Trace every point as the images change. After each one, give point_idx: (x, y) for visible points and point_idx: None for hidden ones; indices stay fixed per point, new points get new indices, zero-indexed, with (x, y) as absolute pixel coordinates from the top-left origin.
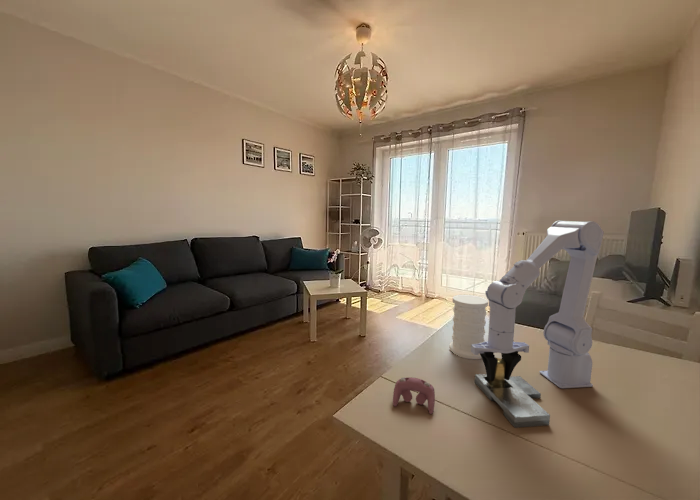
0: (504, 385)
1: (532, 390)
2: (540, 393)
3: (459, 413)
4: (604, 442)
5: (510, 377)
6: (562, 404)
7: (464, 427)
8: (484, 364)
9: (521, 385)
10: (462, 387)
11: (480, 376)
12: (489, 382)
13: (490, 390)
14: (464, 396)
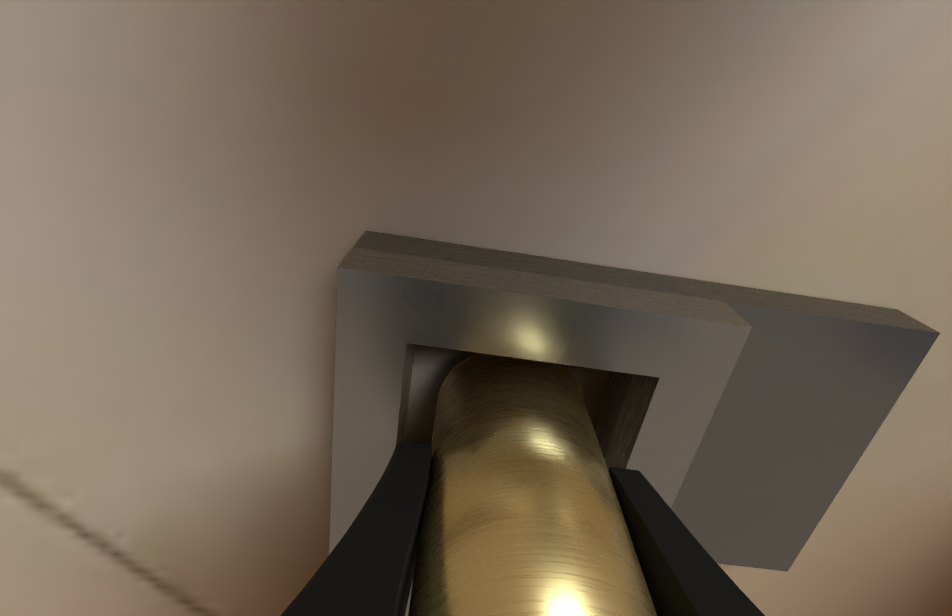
0: (617, 392)
1: (769, 532)
2: (788, 567)
3: (40, 530)
4: None
5: (802, 330)
6: (832, 601)
7: (41, 612)
8: (313, 584)
9: (757, 462)
10: (181, 274)
11: (380, 329)
12: (437, 409)
13: (330, 542)
14: (147, 394)
